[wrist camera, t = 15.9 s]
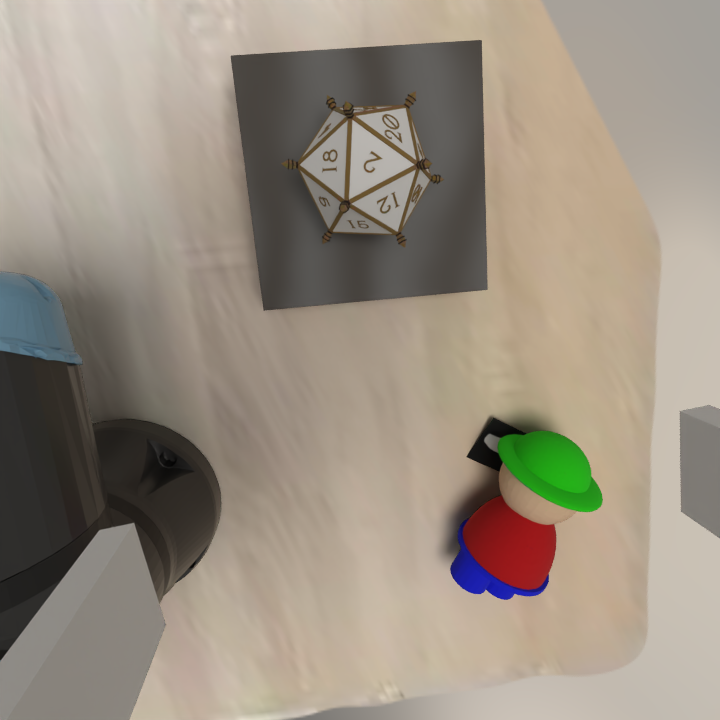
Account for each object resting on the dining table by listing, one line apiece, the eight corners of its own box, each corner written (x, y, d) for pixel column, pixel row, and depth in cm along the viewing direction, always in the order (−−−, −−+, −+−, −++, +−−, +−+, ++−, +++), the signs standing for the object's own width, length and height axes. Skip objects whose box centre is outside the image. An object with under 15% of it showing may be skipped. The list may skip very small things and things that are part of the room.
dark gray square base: (271, 302, 39) (263, 310, 33) (244, 85, 35) (230, 55, 30) (465, 284, 40) (487, 289, 34) (458, 71, 36) (481, 40, 31)
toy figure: (504, 545, 48) (582, 423, 43) (548, 632, 40) (652, 493, 34) (424, 527, 46) (496, 396, 41) (452, 615, 37) (548, 463, 32)
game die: (336, 170, 35) (288, 40, 26) (452, 170, 33) (444, 28, 24) (308, 277, 33) (244, 173, 23) (434, 285, 30) (417, 174, 21)
